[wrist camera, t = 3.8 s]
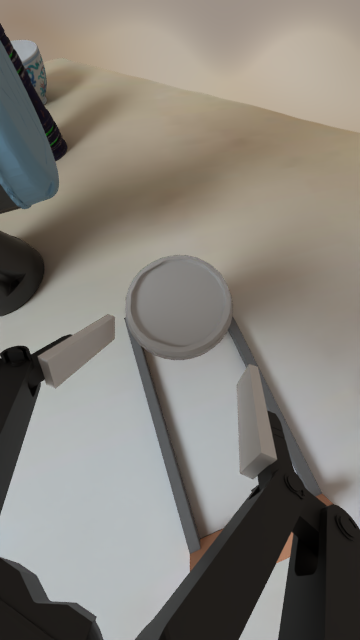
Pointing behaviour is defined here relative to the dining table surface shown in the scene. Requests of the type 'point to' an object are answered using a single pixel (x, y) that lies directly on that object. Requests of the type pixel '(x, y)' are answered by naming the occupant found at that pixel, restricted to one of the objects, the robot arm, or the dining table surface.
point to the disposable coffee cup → (178, 307)
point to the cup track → (187, 520)
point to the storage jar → (36, 101)
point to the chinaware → (32, 65)
